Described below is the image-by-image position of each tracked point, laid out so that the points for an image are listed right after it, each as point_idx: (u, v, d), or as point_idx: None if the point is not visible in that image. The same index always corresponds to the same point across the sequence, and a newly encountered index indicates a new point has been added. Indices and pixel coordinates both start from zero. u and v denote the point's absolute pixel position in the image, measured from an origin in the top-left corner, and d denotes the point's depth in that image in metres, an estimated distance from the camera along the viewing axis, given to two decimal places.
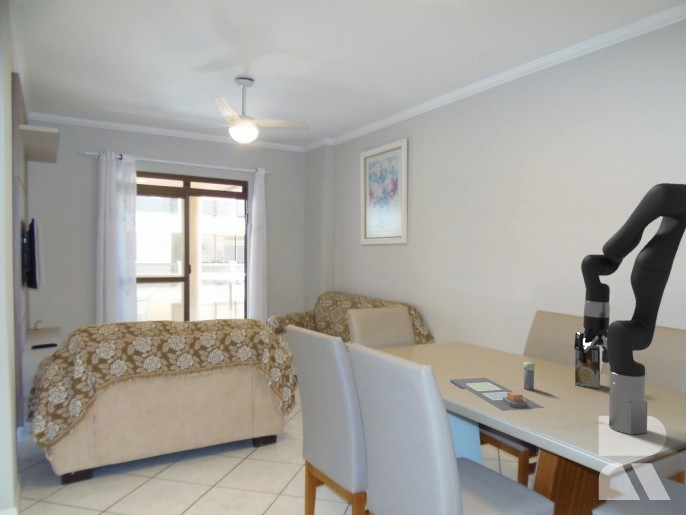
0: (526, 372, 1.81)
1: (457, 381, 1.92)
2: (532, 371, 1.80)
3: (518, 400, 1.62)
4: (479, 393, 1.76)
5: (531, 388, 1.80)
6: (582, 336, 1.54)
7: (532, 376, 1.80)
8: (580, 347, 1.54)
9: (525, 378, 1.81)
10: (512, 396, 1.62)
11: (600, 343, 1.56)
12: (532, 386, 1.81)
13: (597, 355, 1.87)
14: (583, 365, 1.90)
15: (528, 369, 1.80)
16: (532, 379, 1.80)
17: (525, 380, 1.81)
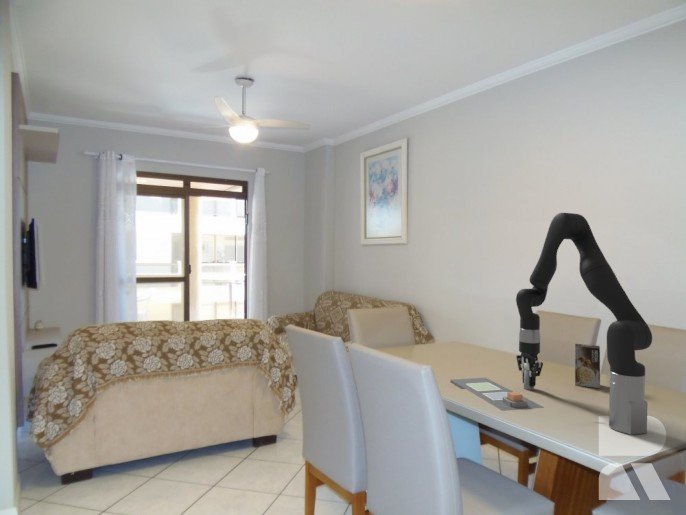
0: (526, 372, 1.81)
1: (457, 381, 1.92)
2: (532, 371, 1.80)
3: (518, 400, 1.62)
4: (479, 393, 1.76)
5: (531, 388, 1.80)
6: None
7: None
8: None
9: (525, 378, 1.81)
10: (512, 396, 1.62)
11: None
12: None
13: (597, 355, 1.87)
14: (583, 365, 1.90)
15: None
16: None
17: (525, 380, 1.81)
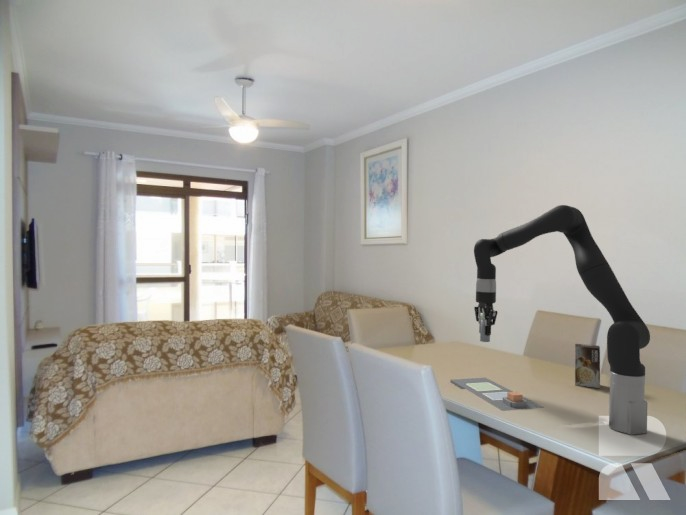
0: (482, 321, 1.83)
1: (457, 381, 1.92)
2: None
3: (518, 400, 1.62)
4: (479, 393, 1.76)
5: (487, 337, 1.82)
6: None
7: None
8: None
9: (481, 327, 1.83)
10: (512, 396, 1.62)
11: None
12: None
13: (597, 355, 1.87)
14: (583, 365, 1.90)
15: None
16: None
17: (481, 329, 1.84)
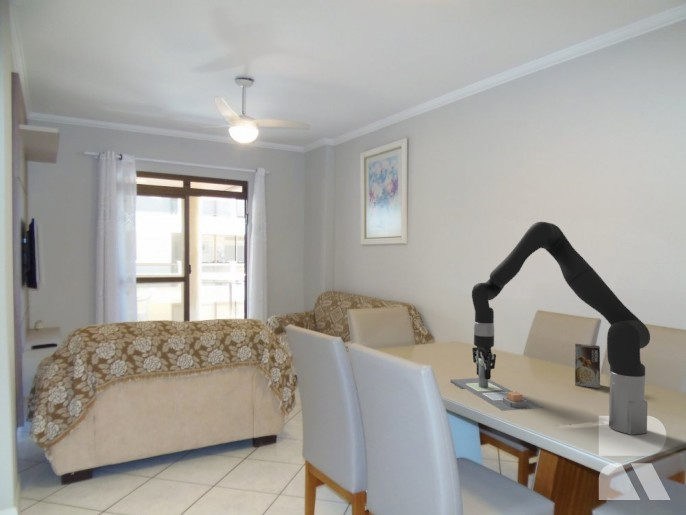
0: (480, 367, 1.83)
1: (457, 381, 1.92)
2: None
3: (518, 400, 1.62)
4: (479, 393, 1.76)
5: (485, 383, 1.82)
6: None
7: None
8: None
9: (479, 373, 1.83)
10: (512, 396, 1.62)
11: None
12: (486, 381, 1.83)
13: (597, 355, 1.87)
14: (583, 365, 1.90)
15: (482, 364, 1.82)
16: None
17: (479, 375, 1.83)
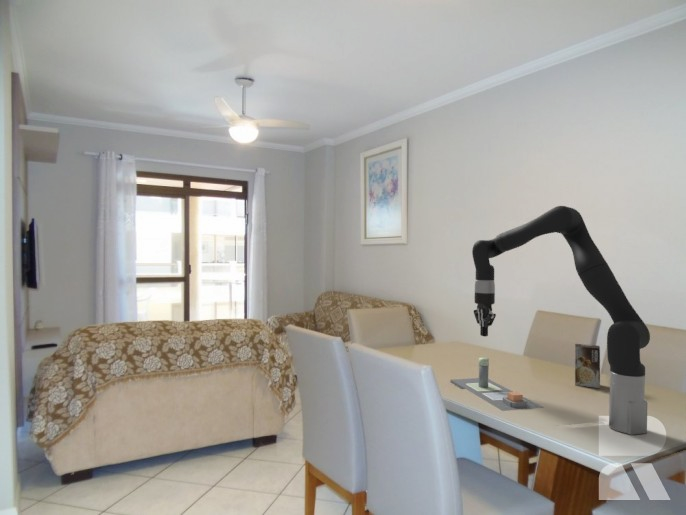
0: (480, 367, 1.83)
1: (457, 381, 1.92)
2: (486, 366, 1.82)
3: (518, 400, 1.62)
4: (479, 393, 1.76)
5: (485, 383, 1.82)
6: None
7: (486, 371, 1.83)
8: None
9: (479, 373, 1.83)
10: (512, 396, 1.62)
11: None
12: (486, 381, 1.83)
13: (597, 355, 1.87)
14: (583, 365, 1.90)
15: (482, 364, 1.82)
16: (486, 374, 1.83)
17: (479, 375, 1.84)
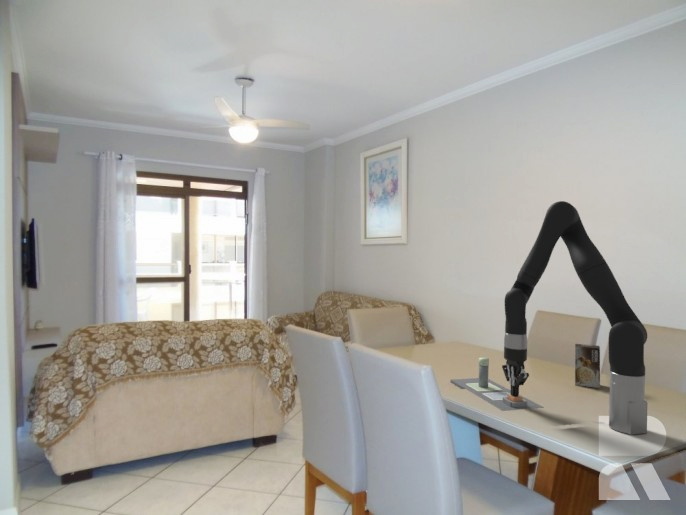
0: (480, 367, 1.83)
1: (457, 381, 1.92)
2: (486, 366, 1.82)
3: None
4: (479, 393, 1.76)
5: (485, 383, 1.82)
6: None
7: (486, 371, 1.83)
8: None
9: (479, 373, 1.83)
10: (512, 398, 1.62)
11: None
12: (486, 381, 1.83)
13: (597, 355, 1.87)
14: (583, 365, 1.90)
15: (482, 364, 1.82)
16: (486, 374, 1.83)
17: (479, 375, 1.84)
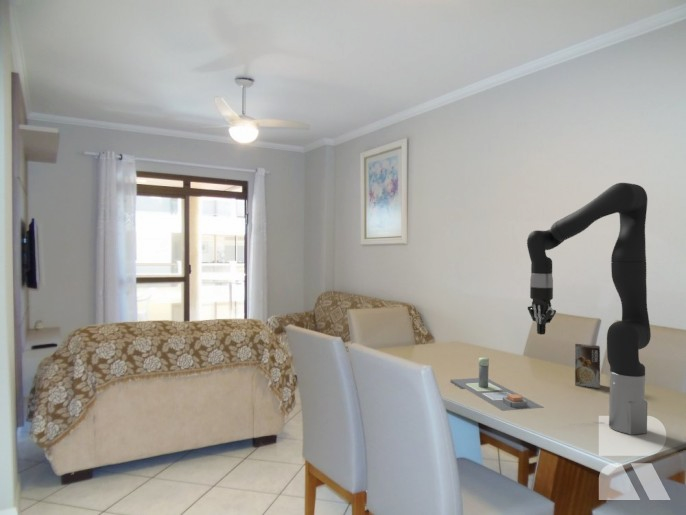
0: (480, 367, 1.83)
1: (457, 381, 1.92)
2: (486, 366, 1.82)
3: None
4: (479, 393, 1.76)
5: (485, 383, 1.82)
6: None
7: (486, 371, 1.83)
8: None
9: (479, 373, 1.83)
10: (512, 399, 1.62)
11: None
12: (486, 381, 1.83)
13: (597, 355, 1.87)
14: (583, 365, 1.90)
15: (482, 364, 1.82)
16: (486, 374, 1.83)
17: (479, 375, 1.84)
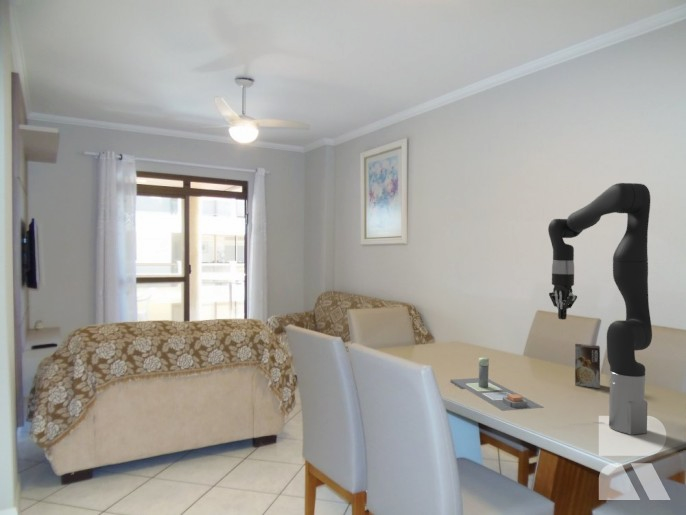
0: (480, 367, 1.83)
1: (457, 381, 1.92)
2: (486, 366, 1.82)
3: None
4: (479, 393, 1.76)
5: (485, 383, 1.82)
6: None
7: (486, 371, 1.83)
8: None
9: (479, 373, 1.83)
10: (512, 399, 1.62)
11: None
12: (486, 381, 1.83)
13: (597, 355, 1.87)
14: (583, 365, 1.90)
15: (482, 364, 1.82)
16: (486, 374, 1.83)
17: (479, 375, 1.84)
